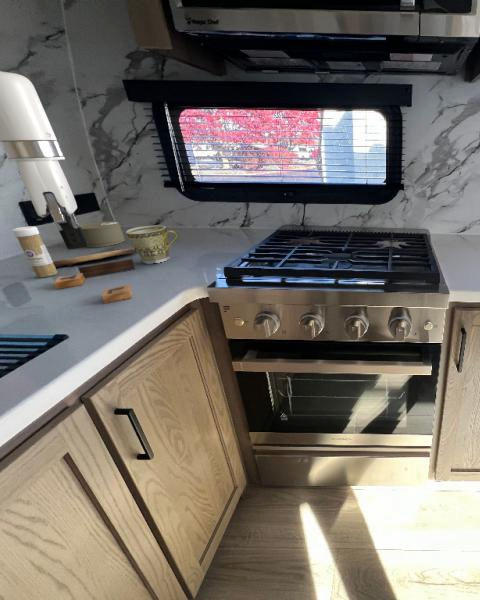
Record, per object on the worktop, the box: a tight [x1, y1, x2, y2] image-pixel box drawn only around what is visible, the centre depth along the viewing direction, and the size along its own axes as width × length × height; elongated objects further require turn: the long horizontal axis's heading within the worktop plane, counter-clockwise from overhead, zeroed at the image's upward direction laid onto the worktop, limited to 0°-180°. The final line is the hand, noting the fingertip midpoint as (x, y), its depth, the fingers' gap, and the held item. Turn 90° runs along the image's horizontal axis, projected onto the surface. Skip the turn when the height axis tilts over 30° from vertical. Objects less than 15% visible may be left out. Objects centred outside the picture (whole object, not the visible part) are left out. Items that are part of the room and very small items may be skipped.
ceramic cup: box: [125, 224, 178, 265], centre depth 101 cm, size 13×10×10 cm
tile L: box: [101, 284, 133, 304], centre depth 79 cm, size 5×5×2 cm
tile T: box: [53, 272, 86, 290], centre depth 87 cm, size 5×5×2 cm
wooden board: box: [52, 247, 137, 268], centre depth 105 cm, size 25×10×1 cm, turn 128°
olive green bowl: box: [79, 220, 126, 249], centre depth 121 cm, size 12×12×7 cm
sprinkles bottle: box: [11, 225, 59, 278], centre depth 90 cm, size 5×5×13 cm
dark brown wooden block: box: [77, 258, 136, 279], centre depth 94 cm, size 12×3×3 cm, turn 126°
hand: (78, 247), depth 69 cm, fingers closed
